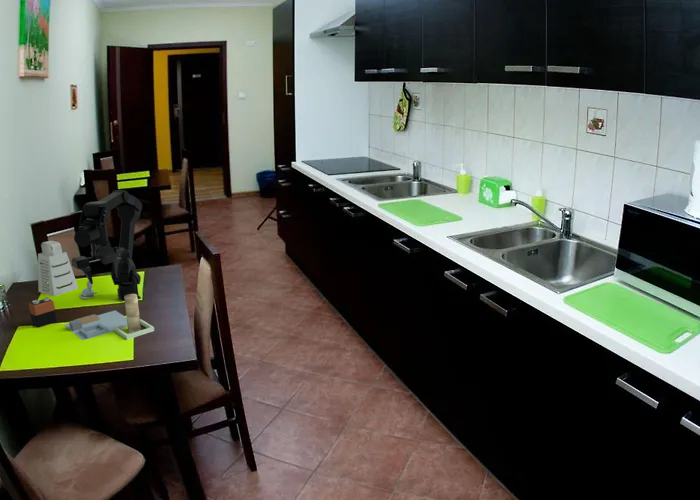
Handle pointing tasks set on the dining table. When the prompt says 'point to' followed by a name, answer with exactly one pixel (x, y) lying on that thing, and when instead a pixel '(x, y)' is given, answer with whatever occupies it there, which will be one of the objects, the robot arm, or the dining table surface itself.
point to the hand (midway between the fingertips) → (104, 280)
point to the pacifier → (88, 292)
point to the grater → (55, 270)
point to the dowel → (132, 313)
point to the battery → (42, 312)
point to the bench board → (96, 324)
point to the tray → (135, 334)
